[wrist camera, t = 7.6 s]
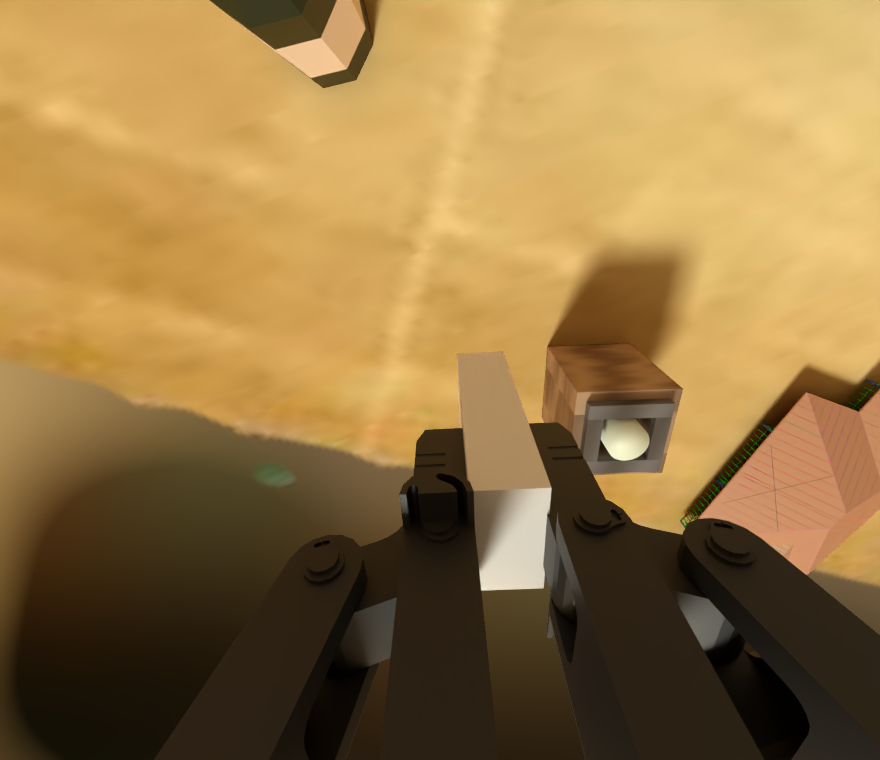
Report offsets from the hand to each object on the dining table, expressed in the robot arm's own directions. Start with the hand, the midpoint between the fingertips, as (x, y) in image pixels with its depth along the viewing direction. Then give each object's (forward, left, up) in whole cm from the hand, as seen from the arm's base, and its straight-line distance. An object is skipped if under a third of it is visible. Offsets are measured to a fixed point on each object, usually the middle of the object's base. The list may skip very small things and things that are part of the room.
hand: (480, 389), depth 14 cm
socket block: (-16, +17, -34) cm, 42 cm away
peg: (-16, +17, -33) cm, 40 cm away
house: (-48, +34, -35) cm, 69 cm away
